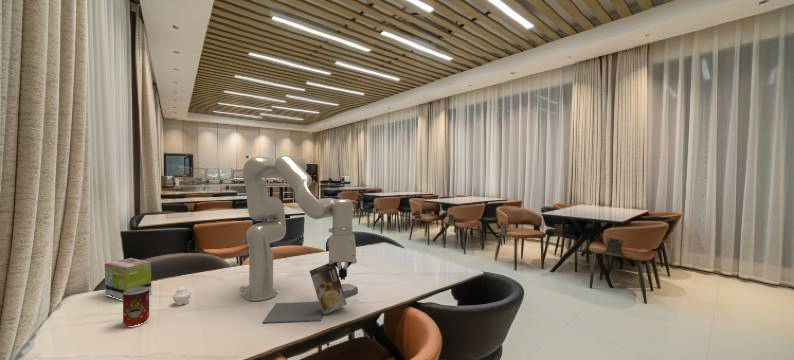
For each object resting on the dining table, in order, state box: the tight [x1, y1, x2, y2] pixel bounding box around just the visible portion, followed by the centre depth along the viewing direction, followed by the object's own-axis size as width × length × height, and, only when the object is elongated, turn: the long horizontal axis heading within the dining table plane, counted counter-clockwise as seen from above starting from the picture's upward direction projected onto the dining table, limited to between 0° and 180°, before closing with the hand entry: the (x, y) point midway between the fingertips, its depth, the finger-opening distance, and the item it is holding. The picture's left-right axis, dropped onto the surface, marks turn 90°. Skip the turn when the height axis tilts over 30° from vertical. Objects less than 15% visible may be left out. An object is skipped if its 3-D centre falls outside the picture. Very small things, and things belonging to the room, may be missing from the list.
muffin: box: [172, 286, 192, 306], centre depth 124 cm, size 6×6×7 cm
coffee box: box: [309, 262, 348, 315], centre depth 117 cm, size 9×6×16 cm
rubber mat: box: [262, 301, 324, 324], centre depth 117 cm, size 20×16×1 cm
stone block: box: [341, 283, 359, 299], centre depth 135 cm, size 12×5×10 cm
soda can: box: [122, 286, 150, 327], centre depth 108 cm, size 7×7×12 cm
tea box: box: [104, 257, 152, 300], centre depth 132 cm, size 15×10×15 cm, turn 68°
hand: (342, 278), depth 118 cm, fingers closed
